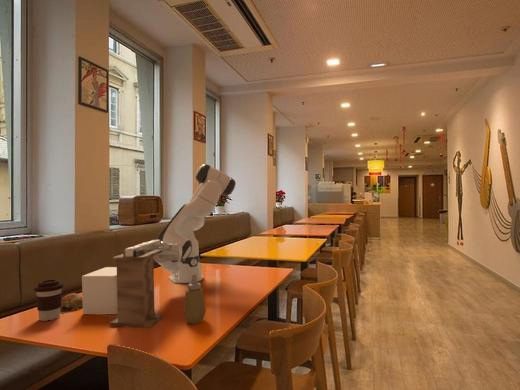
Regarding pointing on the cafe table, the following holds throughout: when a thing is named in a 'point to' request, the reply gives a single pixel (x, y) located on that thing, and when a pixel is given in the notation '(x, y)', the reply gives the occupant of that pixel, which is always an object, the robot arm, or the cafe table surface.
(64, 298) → the bread roll
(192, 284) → the squeeze bottle
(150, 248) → the brushed metal block
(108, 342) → the cafe table surface
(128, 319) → the walnut stand
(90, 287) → the cream tilted cube
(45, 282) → the coffee cup
